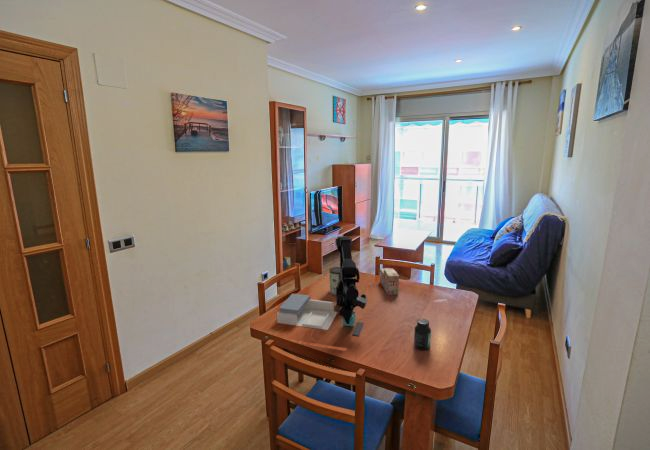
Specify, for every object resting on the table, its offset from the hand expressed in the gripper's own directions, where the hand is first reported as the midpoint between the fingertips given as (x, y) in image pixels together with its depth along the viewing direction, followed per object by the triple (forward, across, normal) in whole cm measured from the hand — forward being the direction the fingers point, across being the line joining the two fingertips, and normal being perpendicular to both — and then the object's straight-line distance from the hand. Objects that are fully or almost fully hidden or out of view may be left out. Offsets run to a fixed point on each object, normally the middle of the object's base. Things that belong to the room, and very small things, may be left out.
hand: (349, 321), depth 162 cm
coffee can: (+4, +41, +16) cm, 44 cm away
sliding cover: (-3, +4, +29) cm, 30 cm away
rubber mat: (+4, 0, 0) cm, 4 cm away
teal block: (+1, 0, 0) cm, 1 cm away
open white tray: (+4, +3, +22) cm, 23 cm away
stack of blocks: (+4, +54, -13) cm, 56 cm away
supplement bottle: (+4, -7, -34) cm, 35 cm away
